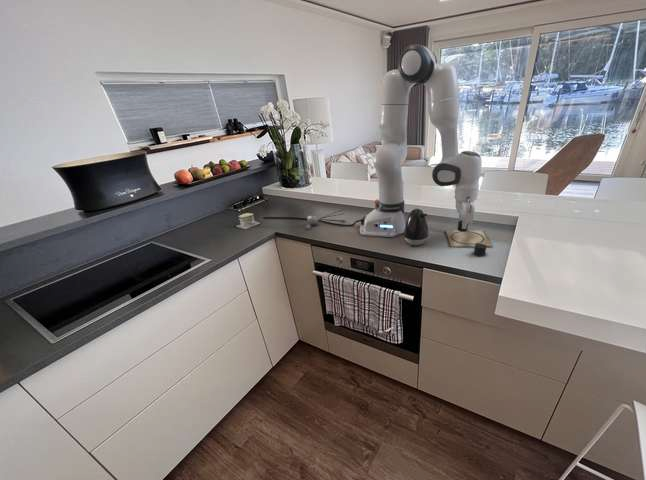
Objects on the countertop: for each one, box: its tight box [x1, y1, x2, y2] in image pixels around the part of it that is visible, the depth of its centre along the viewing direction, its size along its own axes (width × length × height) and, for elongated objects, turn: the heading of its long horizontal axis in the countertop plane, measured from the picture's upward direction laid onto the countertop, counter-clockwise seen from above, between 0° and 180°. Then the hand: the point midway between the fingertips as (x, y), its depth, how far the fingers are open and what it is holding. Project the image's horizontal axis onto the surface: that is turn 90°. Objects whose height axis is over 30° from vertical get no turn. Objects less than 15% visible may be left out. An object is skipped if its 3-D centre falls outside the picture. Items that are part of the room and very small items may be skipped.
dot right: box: [473, 244, 487, 257], centre depth 110 cm, size 4×4×4 cm
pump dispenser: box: [403, 208, 429, 246], centre depth 120 cm, size 10×10×15 cm
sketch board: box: [445, 229, 492, 248], centre depth 123 cm, size 16×16×1 cm
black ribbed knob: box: [457, 220, 469, 231], centre depth 122 cm, size 4×4×4 cm
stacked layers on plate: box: [236, 212, 261, 230], centre depth 154 cm, size 10×9×6 cm
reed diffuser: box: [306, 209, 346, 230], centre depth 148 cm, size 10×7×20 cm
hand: (462, 225), depth 122 cm, fingers closed on black ribbed knob, 4 cm apart
